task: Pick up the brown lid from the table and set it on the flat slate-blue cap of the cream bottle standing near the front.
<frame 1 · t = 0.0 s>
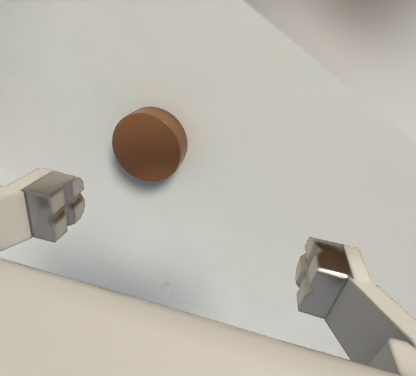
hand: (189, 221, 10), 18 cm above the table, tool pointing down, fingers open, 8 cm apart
brown lid: (155, 140, 29), on the table
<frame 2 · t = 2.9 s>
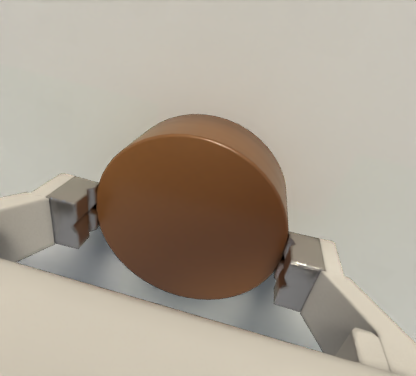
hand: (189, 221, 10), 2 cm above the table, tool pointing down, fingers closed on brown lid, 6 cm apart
brown lid: (202, 195, 12), on the table, touching gripper
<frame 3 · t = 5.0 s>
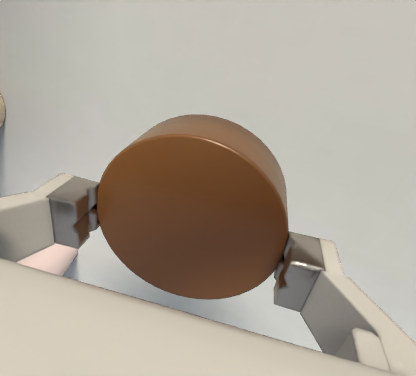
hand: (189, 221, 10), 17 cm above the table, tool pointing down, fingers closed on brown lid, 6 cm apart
smoothie: (65, 246, 37), on the table
brown lid: (202, 195, 12), point 15 cm above the table, touching gripper
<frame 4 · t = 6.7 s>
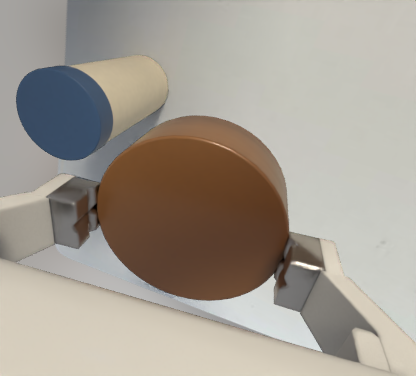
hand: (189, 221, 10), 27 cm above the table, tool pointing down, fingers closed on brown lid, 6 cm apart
brown lid: (202, 196, 12), point 25 cm above the table, touching gripper
bottle: (142, 85, 36), on the table
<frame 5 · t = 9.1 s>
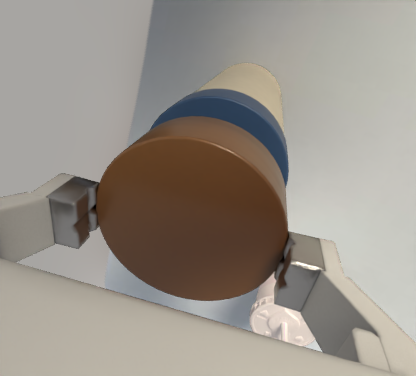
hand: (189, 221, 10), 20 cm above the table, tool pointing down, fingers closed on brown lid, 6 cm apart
smoothie: (282, 255, 35), on the table
brown lid: (202, 196, 12), point 18 cm above the table, touching gripper
bottle: (244, 101, 28), on the table
when the fingers open (18 cm above the table, at t = 10.8 s): brown lid stays where it is, resting on bottle.
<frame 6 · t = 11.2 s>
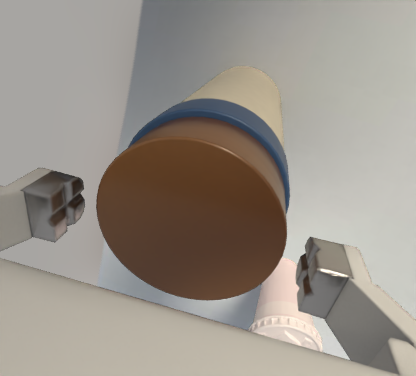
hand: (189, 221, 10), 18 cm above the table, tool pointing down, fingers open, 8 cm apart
smoothie: (281, 269, 33), on the table
brown lid: (201, 196, 12), point 16 cm above the table, touching bottle
bottle: (241, 107, 26), on the table
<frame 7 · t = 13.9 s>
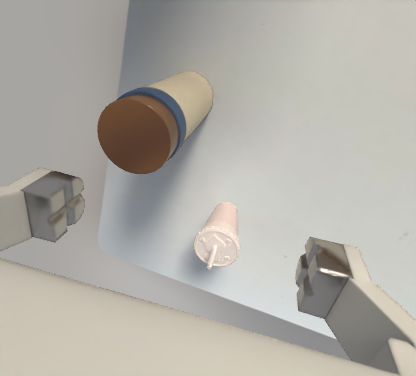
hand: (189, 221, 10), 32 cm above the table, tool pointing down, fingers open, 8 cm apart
smoothie: (226, 211, 48), on the table
brown lid: (144, 130, 27), point 16 cm above the table, touching bottle
bottle: (189, 97, 41), on the table
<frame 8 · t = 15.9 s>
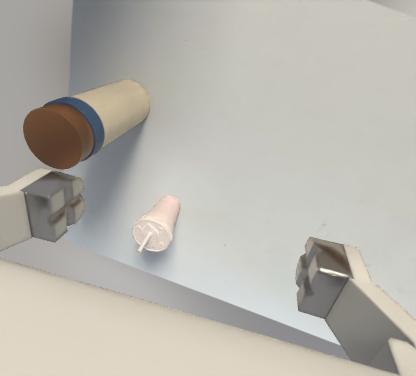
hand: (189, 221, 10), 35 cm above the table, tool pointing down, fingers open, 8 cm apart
smoothie: (170, 203, 54), on the table
brown lid: (66, 133, 32), point 16 cm above the table, touching bottle
bottle: (129, 102, 46), on the table
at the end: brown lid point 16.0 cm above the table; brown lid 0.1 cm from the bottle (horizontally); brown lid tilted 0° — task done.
